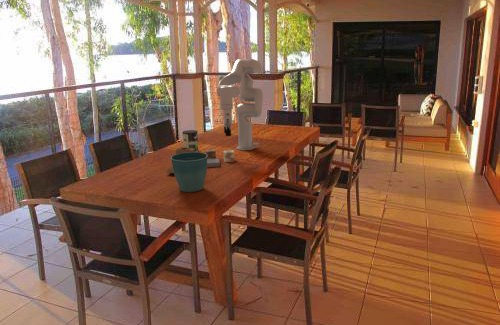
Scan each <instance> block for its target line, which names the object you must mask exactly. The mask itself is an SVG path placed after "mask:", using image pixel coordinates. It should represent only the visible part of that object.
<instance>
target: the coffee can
mask: <svg viewBox="0 0 500 325" xmlns="http://www.w3.org/2000/svg"><path fill="white" fill-rule="evenodd" d="M198 134H199V133H198V130H195V129H194V130H193V129H191V130H183V131H182V145H183V147H184V148H192V149H193V150H194V152H199V138H198Z"/></svg>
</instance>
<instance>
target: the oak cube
mask: <svg viewBox="0 0 500 325" xmlns="http://www.w3.org/2000/svg"><path fill="white" fill-rule="evenodd" d="M223 161H224V163H230V162H231V163H232V162H235V151H234V150H233V149H230V150H227V149H226V150H223Z"/></svg>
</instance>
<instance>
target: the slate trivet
mask: <svg viewBox="0 0 500 325" xmlns="http://www.w3.org/2000/svg"><path fill="white" fill-rule="evenodd" d="M220 164H221V162H220V159H219V158H217V157H216V159H207V168H210V167H211V168H214V167H216V168H217V167H221V165H220Z"/></svg>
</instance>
